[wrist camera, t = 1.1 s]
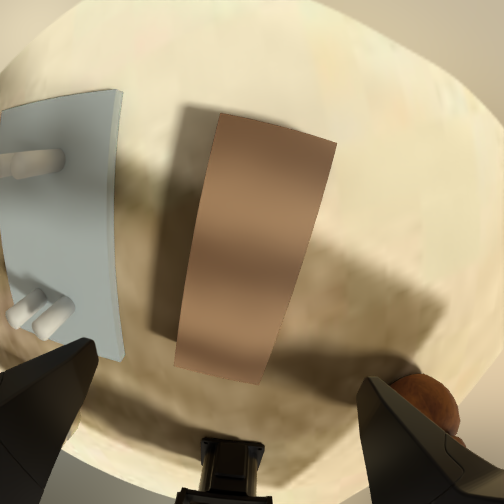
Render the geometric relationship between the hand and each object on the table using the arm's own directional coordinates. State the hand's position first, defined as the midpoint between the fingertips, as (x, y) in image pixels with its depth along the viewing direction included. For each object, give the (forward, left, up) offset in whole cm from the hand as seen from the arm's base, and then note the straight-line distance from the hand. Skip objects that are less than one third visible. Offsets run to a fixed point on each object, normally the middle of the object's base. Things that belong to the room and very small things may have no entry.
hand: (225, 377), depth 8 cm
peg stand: (0, +15, -10) cm, 18 cm away
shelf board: (0, 0, -11) cm, 11 cm away
